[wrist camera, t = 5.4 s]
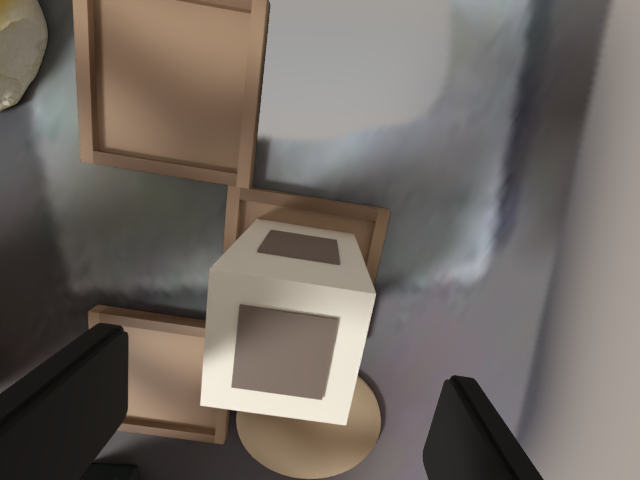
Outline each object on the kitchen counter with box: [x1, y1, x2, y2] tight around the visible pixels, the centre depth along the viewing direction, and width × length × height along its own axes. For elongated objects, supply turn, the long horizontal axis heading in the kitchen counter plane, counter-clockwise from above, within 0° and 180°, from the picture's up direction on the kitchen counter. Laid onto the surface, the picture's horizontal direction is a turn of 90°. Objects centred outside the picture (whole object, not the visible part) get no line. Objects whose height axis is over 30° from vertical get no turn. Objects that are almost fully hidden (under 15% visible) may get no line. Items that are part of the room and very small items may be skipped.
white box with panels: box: [200, 219, 376, 425], centre depth 13 cm, size 5×5×7 cm
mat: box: [236, 376, 381, 479], centre depth 20 cm, size 9×9×1 cm
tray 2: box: [88, 305, 230, 444], centre depth 19 cm, size 8×8×1 cm
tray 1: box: [73, 0, 270, 189], centre depth 14 cm, size 8×8×1 cm
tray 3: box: [222, 185, 391, 286], centre depth 17 cm, size 8×8×1 cm
